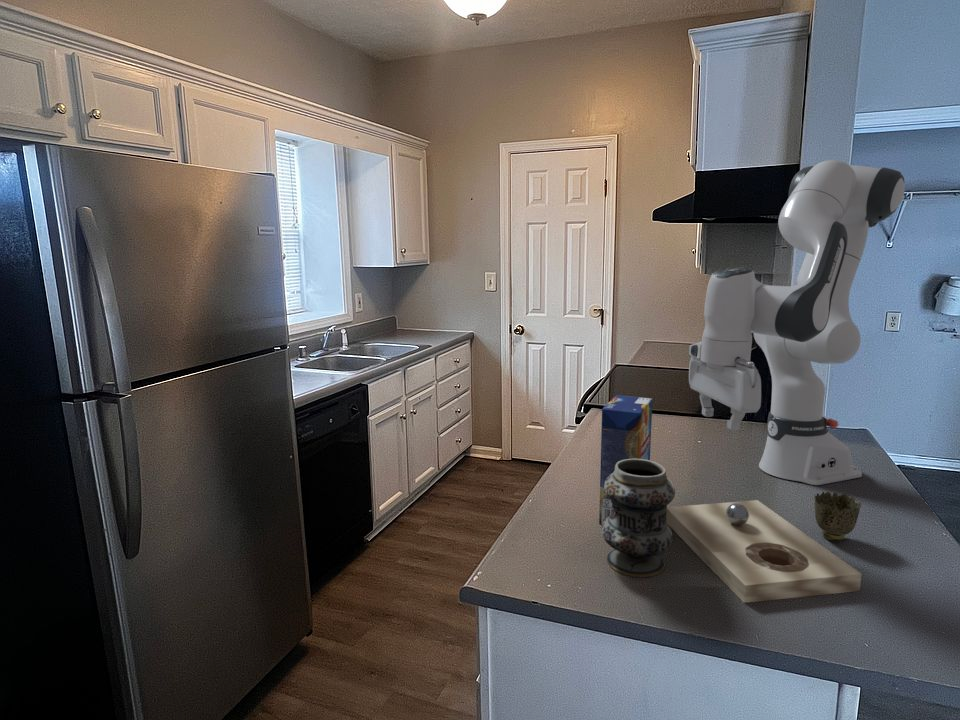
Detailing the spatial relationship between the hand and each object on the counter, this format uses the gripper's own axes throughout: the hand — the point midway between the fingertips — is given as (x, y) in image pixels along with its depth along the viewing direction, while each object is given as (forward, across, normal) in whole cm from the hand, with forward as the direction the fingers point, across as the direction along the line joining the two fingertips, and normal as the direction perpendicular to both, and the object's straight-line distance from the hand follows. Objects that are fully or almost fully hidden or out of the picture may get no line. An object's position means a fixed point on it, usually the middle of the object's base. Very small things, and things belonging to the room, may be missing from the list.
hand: (719, 422), depth 115 cm
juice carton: (+21, +5, +16) cm, 27 cm away
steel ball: (+16, -8, -1) cm, 17 cm away
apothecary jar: (+21, -13, +21) cm, 33 cm away
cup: (+20, -10, -19) cm, 30 cm away
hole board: (+21, -12, -1) cm, 24 cm away
